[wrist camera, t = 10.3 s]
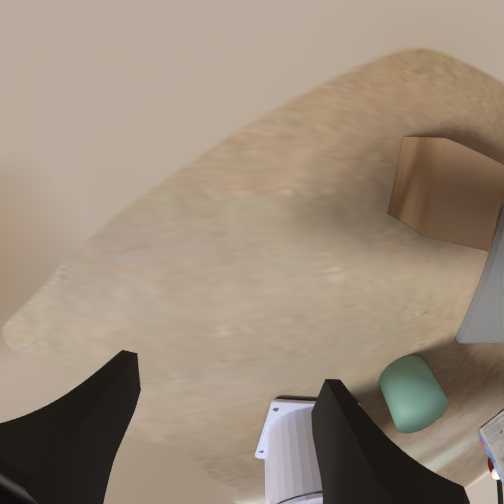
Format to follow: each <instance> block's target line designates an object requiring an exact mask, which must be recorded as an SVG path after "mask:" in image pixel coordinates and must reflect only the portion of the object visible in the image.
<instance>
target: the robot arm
mask: <svg viewBox="0 0 504 504" xmlns="http://www.w3.org/2000/svg"><path fill="white" fill-rule="evenodd" d="M140 391H141V388H140V378H139V368H138V357H137V353H133V352H129V351H125V350H122V351H120V352H119V353H118V354H117V355H116V356H114V357H113V358H112V359H111V360H110V361H109V362H107V363H106V364H105V365H104V366H103V367H102V368H100V369H99V370H98V371H97V372H95V373H94V374H93V375H92V376H90V377H89V378H88V379H87V380H85V381H84V382H83V383H81V384H80V385H79V386H77V387H76V388H74V389H73V390H71V391H70V392H69V393H67V394H66V395H64V396H62V397H61V398H59V399H58V400H56V401H54V402H52V403H50V404H49V405H47V406H45V407H43V408H41V409H39V410H36V411H34V412H32V413H30V414H27V415H25V416H22V417H19V418H16V419H13V420H10V421H7V422H3V423H0V504H103V502H104V497H105V493H106V488H107V484H108V480H109V476H110V472H111V468H112V465H113V461H114V458H115V456H116V453H117V451H118V448H119V446H120V444H121V441H122V439H123V437H124V434H125V432H126V430H127V427H128V425H129V423H130V420H131V418H132V416H133V413H134V411H135V408H136V404H137V401H138V398H139V394H140ZM255 457H256V458H260V459H265V500H266V504H470V502H469V499H468V497H467V494H466V492H465V489H464V487H463V486H461V485H459V484H457V483H454V482H452V481H450V480H448V479H445V478H443V477H441V476H439V475H438V474H436V473H434V472H432V471H431V470H429V469H427V468H426V467H424V466H423V465H421V464H420V463H418V462H417V461H415V460H414V459H413V458H411V457H410V456H409V455H407V454H406V453H405V452H404V451H402V450H401V449H400V448H399V447H398V446H397V445H396V444H394V443H393V442H392V441H391V440H390V439H389V438H388V437H387V436H386V435H385V434H384V433H383V432H382V431H381V430H380V429H379V428H378V426H377V425H376V424H375V423H374V422H373V421H372V420H371V419H370V417H369V416H368V415H367V414H366V412H365V411H364V410H363V409H362V408H361V405H360V403H359V402H357V401H356V400H355V399H354V397H353V396H352V395H351V393H350V392H349V391H348V389H347V388H346V387H345V385H344V384H343V383H342V381H341V380H337V379H325V381H324V384H323V386H322V389H321V391H320V393H319V396H318V398H317V400H316V401H302V400H285V399H275V400H273V401H272V402H271V405H270V408H269V412H268V415H267V418H266V421H265V424H264V428H263V431H262V434H261V437H260V440H259V443H258V446H257V449H256V452H255Z"/></svg>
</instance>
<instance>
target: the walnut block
mask: <svg viewBox="0 0 504 504" xmlns="http://www.w3.org/2000/svg"><path fill="white" fill-rule="evenodd" d="M503 192H504V165H503V164H501V163H499V162H497V161H495V160H493V159H491V158H489V157H487V156H485V155H483V154H481V153H478V152H476V151H474V150H472V149H470V148H468V147H465V146H463V145H461V144H458V143H456V142H454V141H451V140H449V139H447V138H431V137H403V138H402V144H401V150H400V155H399V161H398V166H397V171H396V176H395V181H394V186H393V191H392V195H391V200H390V204H389V208H388V214H389V215H391V216H393V217H394V218H396V219H398V220H399V221H401V222H402V223H404V224H406V225H407V226H409V227H410V228H412V229H414V230H415V231H417V232H418V233H420V234H421V235H423V236H425V237H429V238H433V239H438V240H442V241H446V242H451V243H455V244H459V245H464V246H468V247H472V248H476V249H480V250H484V251H488V250H489V246H490V243H491V240H492V236H493V233H494V229H495V226H496V222H497V218H498V214H499V210H500V205H501V201H502V196H503Z"/></svg>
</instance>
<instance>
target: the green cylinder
mask: <svg viewBox="0 0 504 504" xmlns="http://www.w3.org/2000/svg"><path fill="white" fill-rule="evenodd" d="M379 386H380V388H381V391H382V393H383V396H384V398H385V400H386V403H387V405H388V408H389V410H390V413H391V415H392V418H393V421H394V423H395V426H396V428H397V430H398V431H399V432H401V433H413V432H417V431H420V430H422V429H424V428H426V427H428V426H430V425H431V424H432V423H434V422H435V421H436V420H437V419H439V418H440V417H441V415H442V414H443V413H444V411H445V410H446V408H447V405H448V399H447V397H446V396H445V394H444V392H443V391H442V389H441V387H440V386H439V384H438V382H437V381H436V379H435V377H434V376H433V374H432V372H431V371H430V369H429V368H428V366H427V364H426V363H425V361H424V360H423V358H422V357H420V356H418V355H407V356H403V357H401V358H399V359H397V360H395V361H393V362H392V363H391V364H390V365H388V366H387V367H386V368H385V370H384V371H383V372H382V374H381V376H380V379H379Z"/></svg>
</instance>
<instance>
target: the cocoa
mask: <svg viewBox="0 0 504 504" xmlns="http://www.w3.org/2000/svg"><path fill="white" fill-rule="evenodd" d="M488 467H489V470H490V472H491V473H492V477H493V478H494V479H497V491H498V504H503V490H502V481H501V479H500V477H499V476H498V474H497V472H496V470H495V468H494V466H493V464H492V462H491V460H490V458H488Z"/></svg>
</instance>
